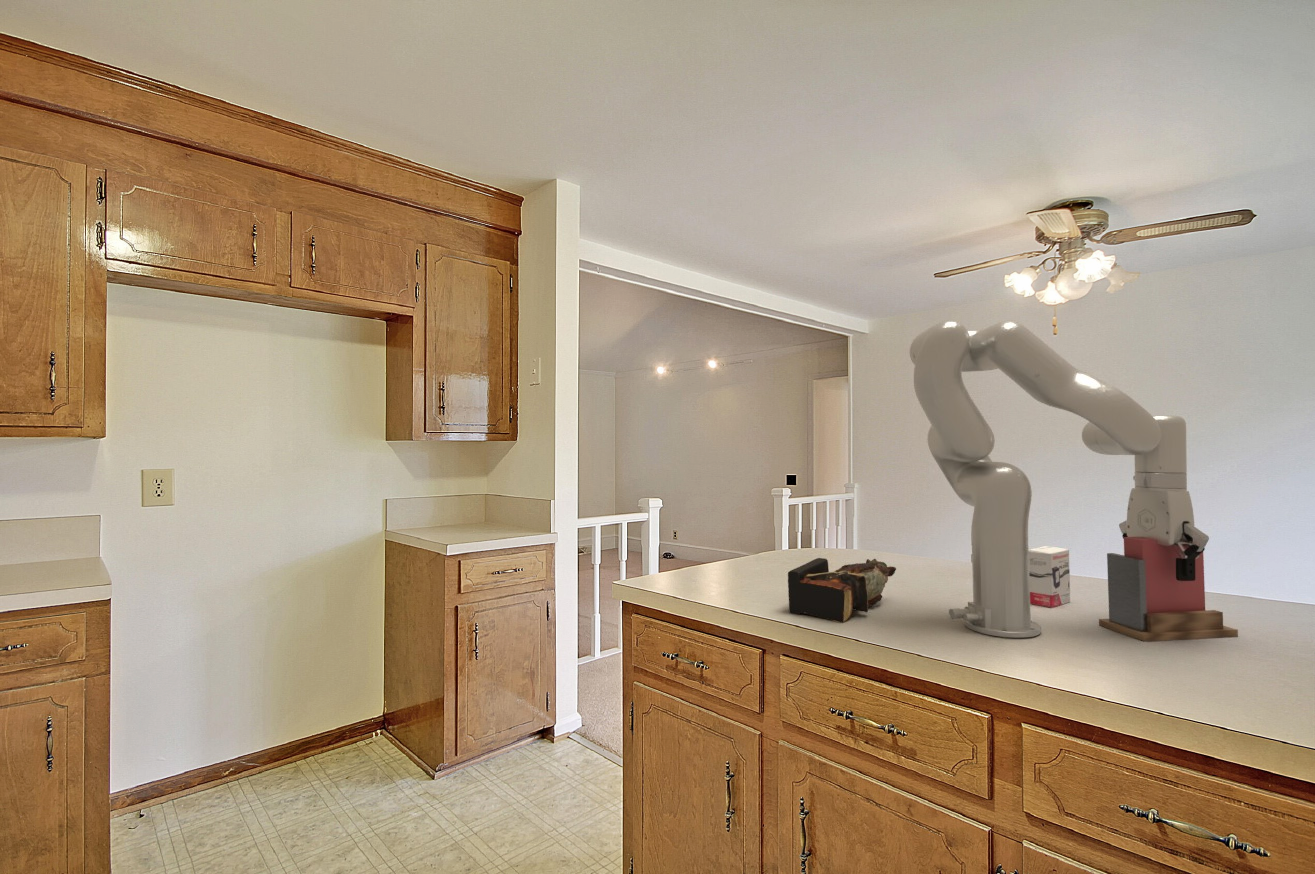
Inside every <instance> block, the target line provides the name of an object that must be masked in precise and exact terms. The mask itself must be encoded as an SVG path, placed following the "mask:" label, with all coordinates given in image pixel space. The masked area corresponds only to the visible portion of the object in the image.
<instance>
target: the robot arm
mask: <svg viewBox="0 0 1315 874" xmlns="http://www.w3.org/2000/svg"><path fill="white" fill-rule="evenodd" d="M966 328H967V327H965V326H964V325H963V324H961V322H958V321H955V320H946V321H942V322H938V323H935V324H934V325H932V326H930V327H929V328H928V329H926V330H925V331H922V332H921V333H920V334H918V335H917V336H916V337H915V338H914V339H913V340H912V342H911V343H910V346H909V358H910V360H911V362H912V363H913V365H914V369H913V389H914V392H915V395H916V398H917V400H918V402H919V404H920V406H921V408H922V410H923V411H924V415H926V417H927V419H928V421H929V424H931V426H930V428H929V430H928V433H927V445H928V448H929V449H928V450H929V451H930V453H931V456H932V457H933V459H934V460H935V462H936V463H937V465H938V467H939V469H940V470H941V472H942V474H943V476H944V477H945V478H946V481H947V482H948V484H949V485H950V486H951V488H952V489H953V491H954V493H955V494H956V495H957V497H958V498H959V499H960V500H961V501H963V503H965V504H967V505H969V506H971V507H973V514H972V519H971V527H970V529H971V531H970V536H971V539H970V540H971V564H972V566H971V567H972V569H971V570H972V593H973V594H972V596H973V597H972V598H973V599H972V601H968V602H967V606H965V607H964V608H949V610H948V616H949V618H950V619H951V620H959V619H960V620H961V619H963V620H964V624H965V626H966V627H967V628H968V629H969V630H972V631H974V632H976V633H977V632H978V633H980V634H984V635H989V636H994V637H1000V638H1011V639H1021V638H1023V639H1024V638H1033V637H1037V636H1038V635H1040V634H1041V633H1042V632H1041V631H1042V628H1041V627H1042V626H1041V625H1040V624H1039V623H1038V622H1036V621H1034V620H1031V616H1032V614H1031V613H1032V612H1031V604H1030V579H1029V550H1030V548H1029V518H1030V511H1031V504H1032V495H1033V494H1032V487H1031V481H1030V480H1029V478H1028V476H1027V475H1026V474H1025V472H1024V471H1023V470H1022V469H1020V468H1019V467H1017V466H1015V465H1013V464H1011V463H1008V462H1002V461H993V460H992V459H991V457H990V456H989V455H991V452H993V449H994V447H995V440H996V439H995V435H994V432H993V430H992V428H991V427H990V425H989V423H988V422H987V420H986V419H985V418H984V416H983V415H982V413H981V411H980V409H979V408H978V406H977V405H976V403H975V402H974V400H973V398H972V396H971V395H970V393H969V392H968V389H967V388H966V386H965V384H964V383H965V382H964V380H963V376H962V373H963V372H964V373H965V372H966V373H969V372H970V373H971V372H983V371H984V372H985V371H987V372H988V371H993V370H998V369H999V370H1000V371H1001V372H1002V373H1003V374H1005V375H1006V376H1007V377H1008V378H1009V379H1011V380H1012V381H1013V382H1014V383H1015V384H1016V385H1018V386H1019V387H1020V388H1021V389H1022V390H1024V392H1025V393H1027V394H1028V395H1029V396H1030V397H1032V398H1033V399H1034V400H1036V401H1037V402H1039V403H1041V404H1044V405H1046V406H1049V407H1052V408H1056V409H1059V410H1063V411H1067V412H1069V413H1073V414H1075V415H1077V416H1079V417H1081V418H1083V419H1085V420H1086V421H1088V422H1087V423H1086V424H1085V425H1084V426H1083V429H1082V432H1081V440H1082V442H1083V443H1084V445H1085V446H1086V448H1088V449H1089V450H1091V451H1092V452H1094V453H1097V454H1099V455H1107V456H1120V455H1121V456H1134V475H1133V477H1132V479H1133V481H1134V488H1131V490H1130V493H1129V497H1128V504H1127V509H1126V510H1127V511H1126V520H1125V521H1122V522H1120V523H1119V525H1118V526H1119V530H1120V532H1121V534H1122V539H1123V540H1124V537H1144V538H1150V539H1156V540H1157V543H1158V544H1159V545H1163V546H1171V545H1172V547H1173V548H1174V550H1175V551H1176V552H1177V554H1178V555H1179V557H1180V558H1176V579H1177V580H1178V581H1194V580H1195V579H1196V578H1195V559H1197V558H1199V555H1200V554H1201V553H1202V552H1203V553H1204V551H1205V550H1206V549H1205V547H1206V545H1207V544H1208V543H1209V540H1210V537H1209V536H1208V535H1207V534H1206V533H1204V532H1203V531H1202V530H1201V529H1199V528H1197V527H1195V516H1194V508H1193V503H1192V499H1191V498H1192V497H1191V494H1190V491H1189V490H1188V489H1187V487H1188V485H1187V484H1188V482H1187V481H1188V477H1187V476H1188V474H1187V473H1188V471H1187V464H1188V463H1187V422H1186V420H1185V418H1184V417H1182V416H1178V415H1152V414H1151V413H1150V412H1149V411H1148V410H1146V409H1145V408H1144V407H1143V406H1142V405H1140V404H1139V403H1138V402H1137V401H1136V400H1135V399H1133V398H1132V397H1130V396H1129V395H1128V394H1126V393H1124V392H1123V391H1122V390H1120V389H1118V388H1117V387H1115V386H1113V385H1111V384H1110V383H1107V382H1106V381H1103V380H1100V379H1099V378H1097V377H1095V376H1093V375H1091V374H1089V373H1087V372H1084V371H1082V370H1081V369H1078V368H1076V367H1075V366H1073V365H1072V364H1071V363H1069V361H1068V360H1066V359H1065V358H1063V357H1062V356H1061V355H1060V354H1059V353H1057V352H1056V351H1055V350H1054V349H1052V348H1051V347H1050V346H1049V345H1048V344H1046V343H1045V341H1043V340H1042V339H1041V338H1039V337H1038V336H1037V335H1036V334H1034V333H1033V332H1032V331H1031V330H1030V329H1029V328H1027V327H1026V326H1024V325H1023V324H1022V323H1019V322H1016V321H1013V320H1006V321H1001V322H997V323H995V324H993V325H990V326H988V327H986V328H984V329H983V328H982V329H977V330H968V329H966ZM1192 544H1193V545H1192ZM1183 547H1185V549H1186V550H1184V548H1183Z"/></svg>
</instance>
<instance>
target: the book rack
mask: <svg viewBox="0 0 1315 874" xmlns="http://www.w3.org/2000/svg"><path fill="white" fill-rule="evenodd" d="M1098 626H1100V627H1103V628H1105V629H1109V630H1111V631H1114V632H1117V633H1119V634H1122V633H1123V634H1122V635H1125V634H1126V635H1125V636H1127V635H1129V636H1128V637H1131V638H1132V639H1133V638H1134V639H1136V640H1139V641H1141V640H1142V641H1141V642H1144V641H1148V642H1163V641H1165V640H1166V641H1181V640H1199V639H1217V638H1218V639H1219V638H1232V637H1233V638H1235V637H1236V638H1237V637H1238V638H1239V631H1238V629H1236V628H1233V627H1230V626H1226V625H1224V613H1223V611H1220V610H1215V609H1211V610H1210V609H1209V610H1206V609H1205V611H1186V612H1166V613H1147V632H1140V631H1137V630H1134V629H1131V628H1128V627H1125V626H1122V625H1119V624H1116V623H1113V622H1110V621H1109V618H1098Z"/></svg>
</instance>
